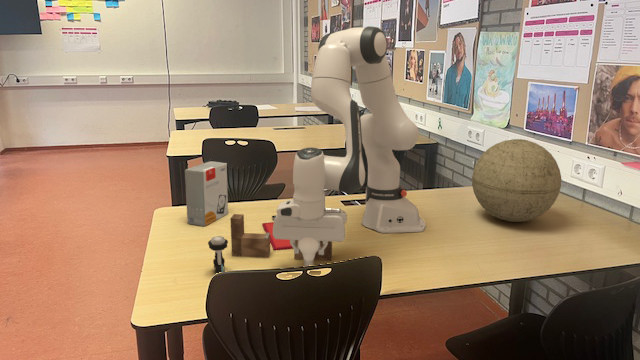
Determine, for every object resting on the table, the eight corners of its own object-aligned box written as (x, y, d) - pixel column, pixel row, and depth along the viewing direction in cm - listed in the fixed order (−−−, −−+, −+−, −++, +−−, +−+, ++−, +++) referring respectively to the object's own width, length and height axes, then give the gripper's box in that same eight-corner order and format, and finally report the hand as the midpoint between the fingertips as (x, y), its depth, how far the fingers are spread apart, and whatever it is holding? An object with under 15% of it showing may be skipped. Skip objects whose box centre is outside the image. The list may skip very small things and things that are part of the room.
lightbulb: (303, 275, 134) (303, 238, 131) (294, 266, 139) (293, 230, 136) (323, 270, 136) (324, 234, 133) (313, 262, 142) (313, 227, 139)
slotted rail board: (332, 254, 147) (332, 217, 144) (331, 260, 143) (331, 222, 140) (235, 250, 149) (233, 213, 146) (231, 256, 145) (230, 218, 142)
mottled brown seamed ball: (516, 203, 197) (525, 131, 189) (574, 229, 170) (587, 145, 162) (452, 210, 188) (459, 134, 180) (503, 238, 161) (514, 150, 153)
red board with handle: (298, 215, 181) (259, 219, 177) (298, 208, 181) (258, 212, 177) (320, 247, 154) (274, 253, 150) (320, 239, 153) (273, 245, 149)
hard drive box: (205, 227, 168) (201, 172, 163) (186, 224, 171) (183, 169, 166) (229, 213, 182) (226, 162, 177) (211, 211, 185) (209, 160, 180)
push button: (208, 267, 138) (206, 234, 135) (227, 264, 140) (225, 232, 137) (210, 277, 132) (208, 243, 129) (230, 274, 134) (228, 241, 131)
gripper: (347, 205, 135) (346, 250, 139) (275, 202, 137) (275, 247, 140) (346, 212, 129) (345, 260, 133) (270, 209, 131) (271, 256, 134)
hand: (309, 253), depth 136 cm, fingers closed on lightbulb, 6 cm apart
